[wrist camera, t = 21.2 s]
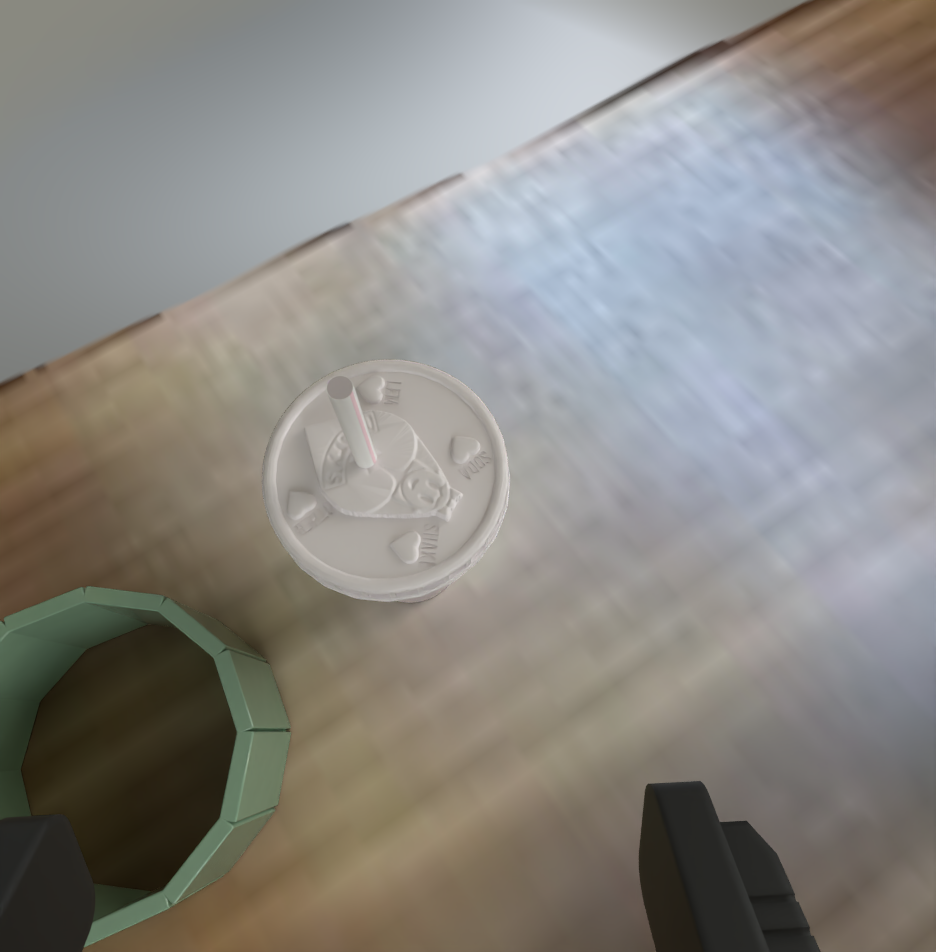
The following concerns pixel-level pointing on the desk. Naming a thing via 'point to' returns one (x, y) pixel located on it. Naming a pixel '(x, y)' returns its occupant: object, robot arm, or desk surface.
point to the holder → (249, 699)
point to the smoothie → (386, 480)
